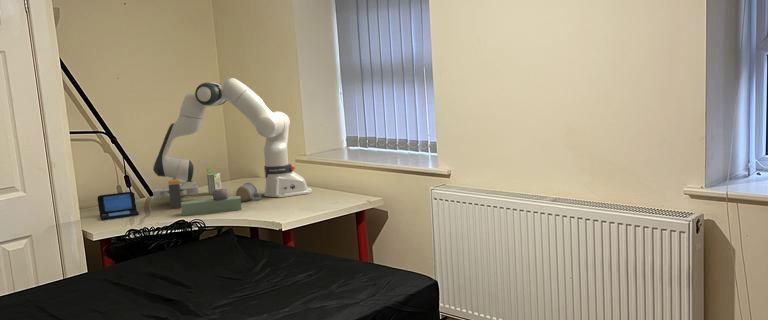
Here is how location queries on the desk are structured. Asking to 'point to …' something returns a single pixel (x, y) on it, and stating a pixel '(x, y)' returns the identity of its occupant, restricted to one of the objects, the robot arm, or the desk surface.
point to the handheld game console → (117, 205)
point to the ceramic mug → (247, 192)
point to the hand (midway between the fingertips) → (175, 194)
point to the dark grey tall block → (175, 194)
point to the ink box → (213, 180)
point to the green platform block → (212, 204)
